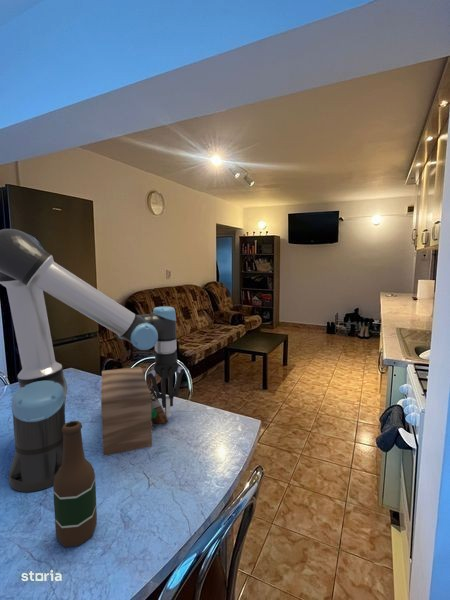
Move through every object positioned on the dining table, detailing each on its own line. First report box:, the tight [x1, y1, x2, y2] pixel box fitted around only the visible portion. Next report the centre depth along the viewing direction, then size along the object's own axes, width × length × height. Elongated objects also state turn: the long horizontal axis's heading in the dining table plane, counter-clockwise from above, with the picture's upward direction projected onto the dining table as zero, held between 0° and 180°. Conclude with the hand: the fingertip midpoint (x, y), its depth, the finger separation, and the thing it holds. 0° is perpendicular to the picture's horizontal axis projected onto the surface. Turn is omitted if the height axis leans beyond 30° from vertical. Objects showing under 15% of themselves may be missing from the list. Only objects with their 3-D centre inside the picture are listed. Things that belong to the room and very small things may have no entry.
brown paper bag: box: [100, 366, 153, 457], centre depth 106 cm, size 28×14×16 cm, turn 21°
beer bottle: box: [52, 420, 98, 548], centre depth 64 cm, size 8×8×24 cm
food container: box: [148, 385, 169, 426], centre depth 110 cm, size 12×6×10 cm, turn 24°
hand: (167, 415), depth 111 cm, fingers closed
